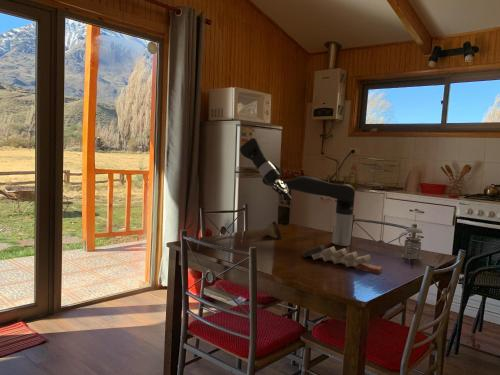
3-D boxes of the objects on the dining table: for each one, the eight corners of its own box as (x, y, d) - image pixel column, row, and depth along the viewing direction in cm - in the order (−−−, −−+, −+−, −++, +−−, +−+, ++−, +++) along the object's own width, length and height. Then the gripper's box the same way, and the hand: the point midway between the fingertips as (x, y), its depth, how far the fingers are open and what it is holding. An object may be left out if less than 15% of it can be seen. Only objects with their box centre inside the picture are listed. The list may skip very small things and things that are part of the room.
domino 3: (322, 256, 183) (341, 249, 178) (325, 254, 187) (345, 247, 183) (324, 261, 183) (343, 254, 178) (327, 259, 187) (347, 252, 182)
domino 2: (311, 255, 185) (330, 248, 181) (315, 252, 190) (334, 246, 185) (313, 259, 185) (332, 253, 180) (317, 257, 189) (336, 251, 185)
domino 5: (344, 261, 177) (364, 257, 171) (349, 258, 181) (369, 254, 174) (346, 267, 177) (366, 262, 170) (351, 264, 181) (371, 259, 174)
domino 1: (301, 253, 188) (320, 246, 183) (305, 251, 192) (323, 244, 187) (303, 257, 187) (322, 251, 183) (307, 255, 192) (325, 249, 187)
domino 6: (355, 264, 175) (379, 269, 170) (359, 262, 179) (381, 266, 174) (355, 270, 175) (378, 274, 170) (358, 267, 179) (381, 272, 174)
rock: (262, 230, 233) (264, 231, 223) (271, 219, 234) (273, 220, 224) (276, 242, 233) (278, 244, 223) (285, 231, 234) (288, 232, 224)
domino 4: (332, 258, 181) (352, 253, 176) (336, 256, 185) (356, 251, 180) (334, 264, 180) (354, 258, 175) (337, 261, 185) (358, 256, 179)
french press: (423, 261, 196) (429, 210, 194) (398, 258, 198) (404, 208, 196) (419, 256, 206) (424, 208, 203) (395, 253, 208) (400, 206, 206)
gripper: (270, 177, 204) (290, 203, 200) (257, 178, 193) (279, 206, 188) (280, 167, 201) (301, 194, 196) (268, 167, 190) (290, 196, 185)
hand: (290, 200), depth 192 cm, fingers closed
